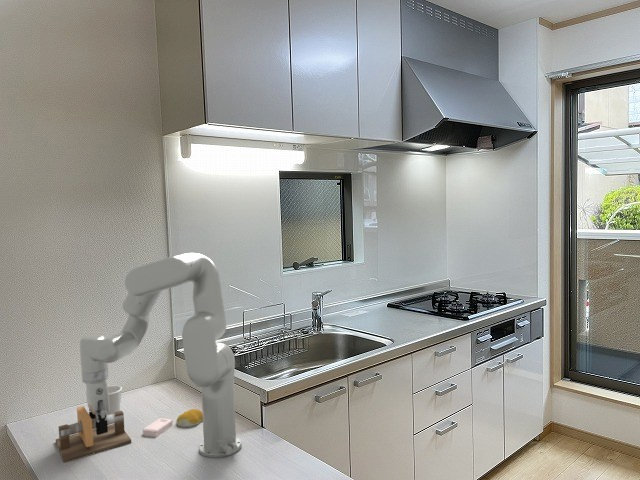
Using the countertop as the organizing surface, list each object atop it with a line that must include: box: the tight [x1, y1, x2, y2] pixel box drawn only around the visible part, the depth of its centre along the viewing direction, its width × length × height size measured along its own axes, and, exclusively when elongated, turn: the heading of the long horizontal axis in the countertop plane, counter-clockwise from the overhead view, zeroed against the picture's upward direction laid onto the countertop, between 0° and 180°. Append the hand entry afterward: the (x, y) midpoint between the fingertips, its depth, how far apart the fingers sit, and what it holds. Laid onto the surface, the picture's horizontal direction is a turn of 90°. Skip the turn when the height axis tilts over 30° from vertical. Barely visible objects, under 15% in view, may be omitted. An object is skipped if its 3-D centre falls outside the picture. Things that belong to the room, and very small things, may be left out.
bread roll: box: [176, 408, 203, 428], centre depth 169 cm, size 8×9×4 cm
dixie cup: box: [105, 385, 123, 415], centre depth 175 cm, size 8×8×10 cm
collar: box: [76, 406, 94, 447], centre depth 154 cm, size 13×2×8 cm, turn 35°
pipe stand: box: [55, 409, 132, 463], centre depth 156 cm, size 16×19×8 cm
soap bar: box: [142, 418, 173, 438], centre depth 163 cm, size 5×9×2 cm, turn 162°
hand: (98, 428), depth 157 cm, fingers open, 9 cm apart
